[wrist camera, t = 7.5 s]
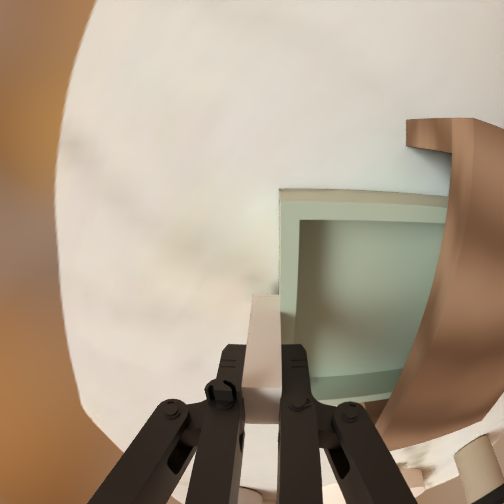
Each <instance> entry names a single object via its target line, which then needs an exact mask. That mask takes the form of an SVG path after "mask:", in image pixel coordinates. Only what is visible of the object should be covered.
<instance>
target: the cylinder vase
mask: <svg viewBox="0 0 504 504" xmlns="http://www.w3.org/2000/svg"><path fill="white" fill-rule="evenodd" d="M237 504H262V496H261V495H260V494H259V493H258V492H256V491H253V490H250V489H247V488H242V487H239V494H238V503H237Z"/></svg>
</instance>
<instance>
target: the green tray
mask: <svg viewBox="0 0 504 504" xmlns="http://www.w3.org/2000/svg"><path fill="white" fill-rule="evenodd" d="M448 199H449V197H443V196H434V195H423V194H411V193H398V192H383V191H364V190H339V189H279V298H280V323H281V344H302V346H303V347H304V349H305V350H306V351H307V361H308V368H309V376H310V385H311V392H312V395H313V396H314V398H315V399H316V400H317V401H319V402H321V403H323V404H326V405H331V406H332V405H339V404H341V403H343V402H348V401H352V402H357V403H361V402H369V401H376V400H382V399H388V398H390V396H391V394H392V392H393V390H394V388H395V385H396V383H397V381H398V379H399V377H400V374H401V372H402V370H403V368H404V365H405V363H406V360H407V358H408V355H409V353H410V350H411V348H412V345H413V343H414V340H415V337H416V335H417V332H418V329H419V326H420V323H421V320H422V317H423V314H424V311H425V308H426V304H427V301H428V298H429V294H430V291H431V287H432V283H433V279H434V275H435V271H436V267H437V263H438V258H439V254H440V249H441V244H442V239H443V233H444V227H445V221H446V214H447V207H448Z"/></svg>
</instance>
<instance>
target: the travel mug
mask: <svg viewBox="0 0 504 504" xmlns="http://www.w3.org/2000/svg"><path fill="white" fill-rule="evenodd" d="M454 459H455V462H456V465H457V468H458V471H459V474H460V477H461V481H462V484H463V488H464V491H465V495H466V499H467V503H468V504H504V477H503V474H502V471H501V468H500V465H499V463H498V460H497V457H496V455H495V452H494V450H493V447H492V445H491V443H490V440H489V438H488V436H487V435H485V436H481V437H479V438H477V439H475V440H473V441H472V442H470V443H468V444H467V445H466V446H464V447H463V448H462V449H460V450H459V451H458V452H457V453H456V455H455V456H454Z"/></svg>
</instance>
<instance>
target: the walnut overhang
mask: <svg viewBox="0 0 504 504" xmlns="http://www.w3.org/2000/svg"><path fill="white" fill-rule="evenodd" d="M406 146H411V147H418V148H424V149H430V150H436V151H442V152H447V153H452V163H451V178H450V189H449V199H448V207H447V214H446V221H445V227H444V233H443V239H442V244H441V249H440V254H439V258H438V263H437V267H436V271H435V275H434V279H433V283H432V287H431V291H430V294H429V298H428V301H427V304H426V308H425V311H424V314H423V317H422V320H421V323H420V326H419V329H418V332H417V335H416V337H415V340H414V343H413V345H412V348H411V350H410V353H409V355H408V358H407V360H406V363H405V365H404V368H403V370H402V372H401V374H400V377H399V379H398V381H397V383H396V385H395V388H394V390H393V392H392V394H391V396H390V398H388V399H382V400H376V401H369V402H361V403H359V404H361V405H362V406H363V407H364V408H365V409H366V411H367V413H368V415H369V416H370V418H371V420H372V422H373V423H374V425H375V427H376V429H377V430H378V432H379V434H380V436H381V437H382V439H383V441H384V443H385V445H386V446H387V448H388V450H389V451H392V450H396V449H401V448H404V447H408V446H412V445H416V444H419V443H422V442H426V441H429V440H432V439H435V438H438V437H441V436H444V435H447V434H449V433H452V432H455V431H457V430H460V429H462V428H465V427H467V426H470V425H472V424H474V423H477V422H479V421H481V420H482V419H483V418H484V417H485V416H486V414H487V413H488V412H489V411H490V409H491V408H492V407H493V406H494V404H495V403H496V402H497V400H498V399H499V398H500V396H501V395H502V394H503V392H504V129H502V128H500V127H497V126H494V125H492V124H489V123H486V122H483V121H481V120H478V119H475V118H430V119H411V120H406Z"/></svg>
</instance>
